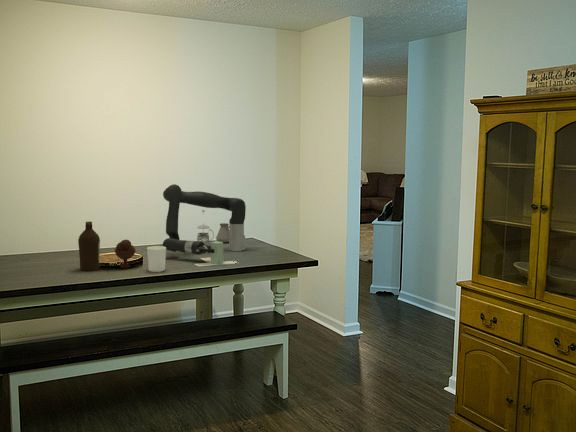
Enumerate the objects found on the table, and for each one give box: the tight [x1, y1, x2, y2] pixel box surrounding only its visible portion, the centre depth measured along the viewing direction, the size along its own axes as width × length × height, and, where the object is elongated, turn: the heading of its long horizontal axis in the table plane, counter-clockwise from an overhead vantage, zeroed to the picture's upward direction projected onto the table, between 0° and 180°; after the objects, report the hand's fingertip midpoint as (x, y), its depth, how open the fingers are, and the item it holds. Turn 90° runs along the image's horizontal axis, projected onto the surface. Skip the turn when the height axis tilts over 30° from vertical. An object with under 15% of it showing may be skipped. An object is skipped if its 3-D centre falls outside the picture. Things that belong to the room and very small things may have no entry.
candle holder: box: [146, 245, 167, 273], centre depth 295 cm, size 10×10×12 cm
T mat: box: [194, 256, 238, 267], centre depth 322 cm, size 22×24×1 cm
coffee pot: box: [215, 222, 229, 242], centre depth 386 cm, size 21×12×15 cm, turn 31°
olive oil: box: [77, 221, 101, 272], centre depth 294 cm, size 11×11×25 cm
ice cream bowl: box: [114, 239, 136, 269], centre depth 302 cm, size 11×11×15 cm
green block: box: [210, 240, 224, 266], centre depth 315 cm, size 5×5×12 cm
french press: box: [196, 209, 214, 245], centre depth 364 cm, size 10×12×25 cm
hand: (218, 250), depth 314 cm, fingers open, 8 cm apart
